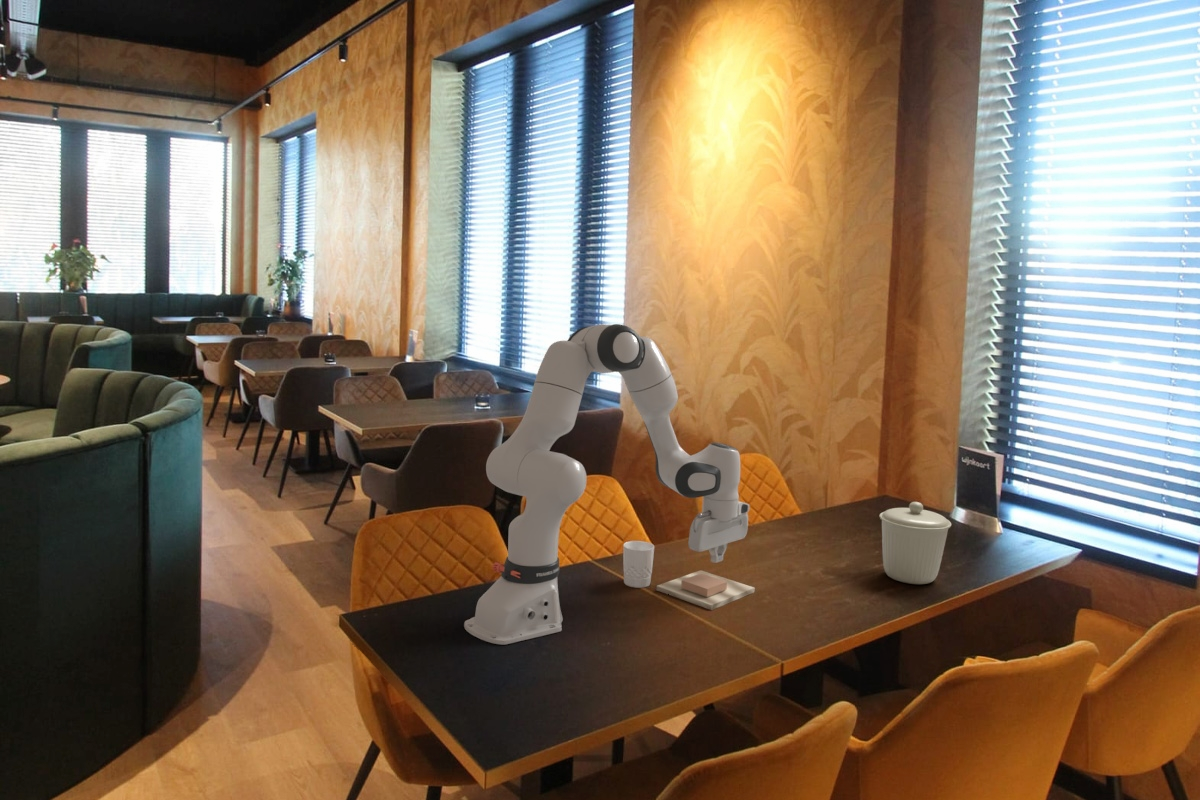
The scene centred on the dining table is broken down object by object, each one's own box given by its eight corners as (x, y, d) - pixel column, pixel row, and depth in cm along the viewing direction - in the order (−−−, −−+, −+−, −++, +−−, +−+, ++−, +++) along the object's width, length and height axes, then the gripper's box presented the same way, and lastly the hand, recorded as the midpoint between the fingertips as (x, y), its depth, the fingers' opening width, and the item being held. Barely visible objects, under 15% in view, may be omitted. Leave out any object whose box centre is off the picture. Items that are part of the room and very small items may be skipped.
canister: (956, 580, 229) (964, 503, 226) (927, 595, 217) (935, 515, 214) (893, 562, 242) (899, 490, 239) (862, 576, 229) (868, 500, 226)
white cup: (650, 590, 213) (652, 551, 211) (619, 586, 214) (620, 548, 213) (654, 579, 220) (656, 542, 219) (624, 576, 222) (626, 539, 220)
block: (726, 590, 211) (707, 598, 205) (700, 581, 217) (681, 589, 211) (727, 581, 211) (707, 589, 205) (701, 573, 216) (681, 580, 210)
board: (711, 610, 201) (711, 605, 201) (656, 590, 213) (656, 585, 213) (754, 592, 214) (754, 587, 214) (700, 574, 226) (700, 570, 225)
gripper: (704, 517, 202) (701, 573, 204) (753, 504, 217) (750, 556, 218) (684, 511, 206) (680, 566, 208) (733, 499, 221) (729, 550, 223)
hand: (716, 561), depth 213 cm, fingers closed
